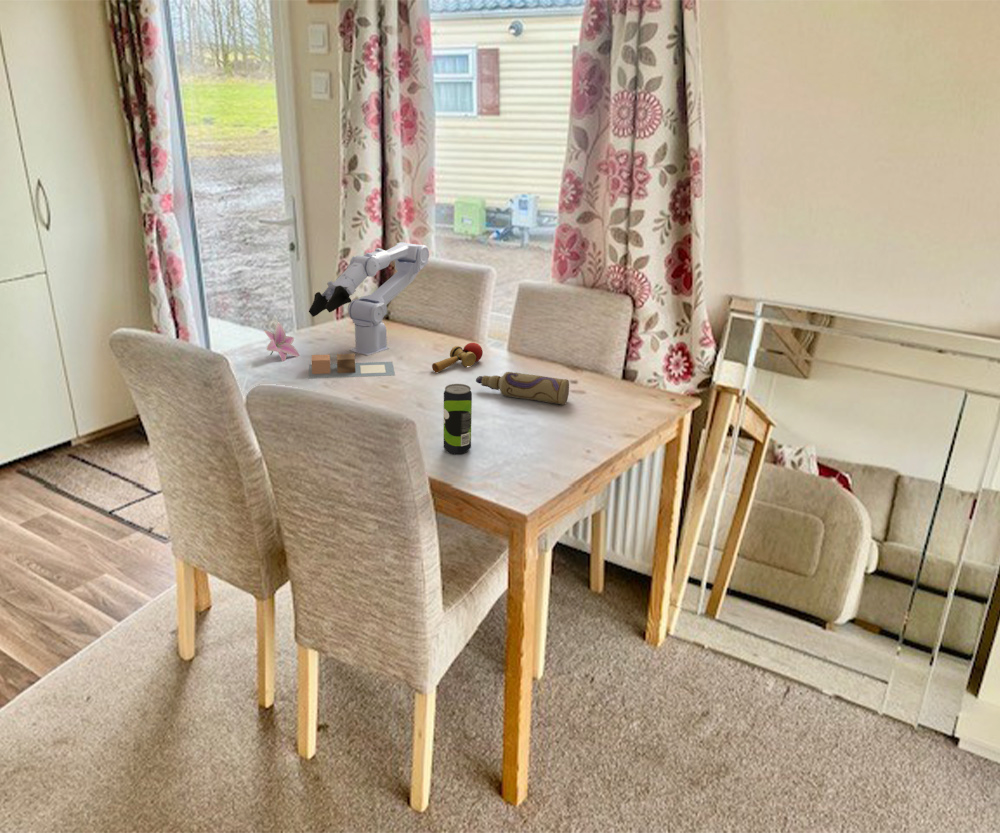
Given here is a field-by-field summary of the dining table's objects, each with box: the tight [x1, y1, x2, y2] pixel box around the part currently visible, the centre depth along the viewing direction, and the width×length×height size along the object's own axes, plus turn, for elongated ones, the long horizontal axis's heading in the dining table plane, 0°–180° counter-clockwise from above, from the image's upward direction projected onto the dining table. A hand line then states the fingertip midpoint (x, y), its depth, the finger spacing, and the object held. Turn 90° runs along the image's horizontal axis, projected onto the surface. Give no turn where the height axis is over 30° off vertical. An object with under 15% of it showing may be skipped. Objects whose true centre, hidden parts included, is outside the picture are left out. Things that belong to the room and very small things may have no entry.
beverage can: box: [443, 383, 473, 455], centre depth 175 cm, size 6×6×15 cm
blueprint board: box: [308, 361, 396, 380], centre depth 224 cm, size 24×12×1 cm, turn 101°
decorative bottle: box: [475, 371, 570, 406], centre depth 209 cm, size 26×8×7 cm, turn 69°
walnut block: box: [336, 353, 356, 373], centre depth 223 cm, size 5×5×4 cm
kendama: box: [431, 342, 483, 373], centre depth 231 cm, size 8×6×18 cm
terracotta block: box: [310, 354, 331, 374], centre depth 222 cm, size 5×5×4 cm
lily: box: [263, 321, 300, 362], centre depth 232 cm, size 12×12×10 cm
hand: (319, 311), depth 218 cm, fingers open, 7 cm apart
